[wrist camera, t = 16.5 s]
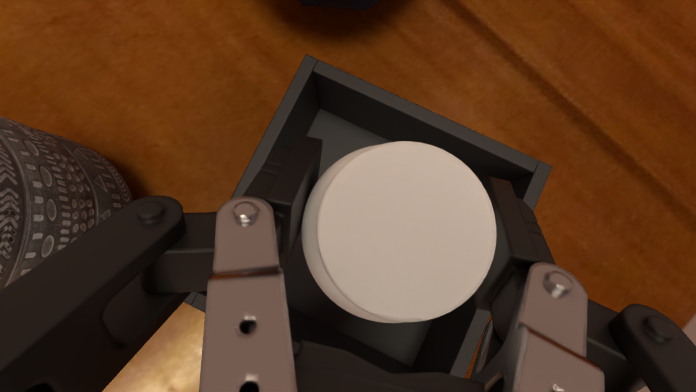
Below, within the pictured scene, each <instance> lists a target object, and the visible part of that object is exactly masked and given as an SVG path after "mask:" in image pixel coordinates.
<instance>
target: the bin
mask: <svg viewBox="0 0 696 392" xmlns="http://www.w3.org/2000/svg"><path fill="white" fill-rule="evenodd" d="M300 135H304V136H308V137H313V138H317V139H322V141H323V144H322V153H321V161H320V168H319V176H318V180H319V179H320V177H321V176H322V175H323V174H324V173H325V171H326V170H327V169H328V168H329V167H331V166H332V165H333V164H334V163H335V162H337V161H338V160H340V159H341V158H343V157H344V156H346V155H348V154H350V153H352V152H354V151H356V150H359V149H362V148H365V147H369V146H374V145H381V144H385V143H390V142H397V141H412V142H420V143H425V144H429V145H433V146H435V147H438V148H440V149H443V150H444V151H446V152H448V153H450V154H452V155H453V156H455V157H456V158H458V159H459V160H461V161H462V162H463V163H464V164H465V165H467V166H468V167H469V168H470V169H471V171H472V172H473V173H474V174H475V175H476V176H477V178H478V179H479V180H480V182H481V181H482V179H483V178H484V177H485V176H489V177H494V178H498V179H503V180H507V181H510V182H511V185H512V187H513V190H514V192H515V195H516V197H517V198H519V199H522V200H523V201H524V202H525V203H526V204H527V205H528V206H529V207H530V208H531V209H532V211H534V209H535V207H536V204H537V202H538V199H539V197H540V195H541V192H542V190H543V187H544V185H545V183H546V180H547V178H548V175H549V173H550V171H551V168H552V166H550V165H548V164H546V163H544V162H541V161H539V160H537V159H535V158H532V157H530V156H528V155H526V154H524V153H522V152H519V151H517V150H515V149H513V148H511V147H508V146H506V145H504V144H502V143H500V142H497V141H495V140H493V139H491V138H489V137H487V136H484V135H482V134H480V133H478V132H476V131H473V130H471V129H469V128H467V127H465V126H462V125H460V124H458V123H456V122H454V121H452V120H449V119H447V118H445V117H443V116H441V115H438V114H436V113H434V112H432V111H430V110H427V109H425V108H423V107H421V106H419V105H417V104H414V103H412V102H410V101H408V100H406V99H403V98H401V97H399V96H397V95H395V94H393V93H390V92H388V91H386V90H384V89H382V88H379V87H377V86H375V85H373V84H371V83H368V82H366V81H364V80H362V79H360V78H358V77H355V76H353V75H351V74H349V73H347V72H344V71H342V70H340V69H338V68H336V67H333V66H331V65H329V64H327V63H325V62H323V61H320V60H318V59H316V58H314V57H311V56H309V55H307V54H306V55H305V57H304V59H303V61H302V63H301V65H300V67H299V69H298V71H297V73H296V74H295V76H294V78H293V80H292V82H291V84H290V86H289V88H288V90H287V92H286V94H285V96H284V97H283V99H282V101H281V103H280V105H279V107H278V109H277V111H276V113H275V115H274V117H273V118H272V120H271V122H270V124H269V126H268V128H267V130H266V132H265V134H264V136H263V138H262V140H261V141H260V143H259V145H258V147H257V149H256V151H255V153H254V155H253V157H252V159H251V161H250V162H249V164H248V166H247V168H246V170H245V172H244V174H243V176H242V178H241V180H240V182H239V183H238V185H237V187H236V189H235V191H234V193H233V195H232V197H231V199H233V198H236V197H242V196H243V194H244V193H245V191H246V190H247V188H248V187H249V185H250V184H251V182H252V181H253V179H254V177H255V176H256V174H257V173H258V171H260V168H261V167H262V165H263V164H264V163H265V161H266V159H267V158H268V156H269V155H270V153H271V152H273V151H274V150H276V149H278V148H280V147H281V146H285V147H289V148H293V147H294V145H295V143H296V142H297V140H298V138H299V137H300ZM279 266H280V268H282V270H283V275H284V283H285V292H286V300H287V308H288V317H289V325H290V334H291V342H292V350H293V353H298V350H299V346H300V343H301V340H304V341H308V342H312V343H317V344H321V345H325V346H329V347H334V348H338V349H342V350H346V351H348V352H350V353H352V354H354V355H356V356H358V357H360V358H361V359H363V360H365V361H367V362H369V363H371V364H373V365H375V366H377V367H379V368H381V369H383V370H385V371H387V372H389V373H393V374H404V373H429V372H440V373H445V374H449V375H453V376H457V377H462V378H464V377H465V374H466V372H467V370H468V367H469V365H470V362H471V360H472V358H473V355H474V353H475V350H476V348H477V346H478V343H479V341H480V338H481V336H482V334H483V331H484V329H485V326H486V324H487V322H488V319H489V317H490V315H491V312H489V311H484V310H480V309H476V304H475V298H474V294H473V295H472V296H471V297H470V298H469V299H468V300H467V301H465V302H464V303H463V304H462V305H461V306H459V307H457V308H456V309H454V310H453V311H451V312H449V313H447V314H444V315H442V316H440V317H437V318H434V319H430V320H426V321H420V322H403V323H383V322H376V321H371V320H367V319H364V318H361V317H358V316H356V315H353V314H351V313H349V312H348V311H346V310H344V309H343V308H341V307H340V306H338V305H337V304H336V303H334V302H333V301H332V300H331V299H330V298H329V297H328V296H327V295H326V294H325V293H324V292H323V291H322V289H321V288H320V287H319V285H318V284H317V282H316V281H315V279H314V277H313V276H312V274H311V272H310V270H309V267H308V265H307V262H306V259H305V255H304V251H303V245H302V228H301V230H300V233H299V236H298V238H297V241H296V243H295V246H294V249H293V251H292V254H291V256H290V259H289V262H288V264H287V265H286V264H282V263H279ZM206 299H207V291H199V292H191V294H190V295H189V296H188V297H187V298H186V299H185V300H184V301H183V302H185V303H187V304H189V305H191V306H193V307H195V308H197V309H199V310H200V311H202V312H204V313H205V312H206Z"/></svg>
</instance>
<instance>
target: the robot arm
mask: <svg viewBox="0 0 696 392" xmlns="http://www.w3.org/2000/svg"><path fill="white" fill-rule="evenodd" d="M322 144H323V141H322V139H317V138H313V137H308V136H304V135H300V137H299V138H298V140H297V142H296V143H295V145H294V147H293V148H289V147H285V146H281V147H280V148H278V149H276V150H274V151H273V152H271V153H270V155H269V156H268V158H267V159H266V161H265V163H264V164H263V165H262V167H261V168H260V171H258V173H257V174H256V176H255V177H254V179H253V181H252V182H251V184H250V185H249V187H248V188H247V190H246V191H245V193H244V194H243V196H242V197H236V198H233V199H230V200H228V201H227V202H225V203H224V204H222V205H221V206H220V208H219V209H218V211H217V212H208V213H183V207H182V205H181V204H180V203H179V202H178V201H177V200H175V199H173V198H171V197H167V196H147V197H143V198H140V199H137V200H135V201H132V202H131V203H129V204H127V205H126V206H124V207H123V208H121V209H120V210H118V211H117V212H115V213H114V214H112V215H111V216H110V217H108V218H107V219H105V220H104V221H102V222H101V223H99V224H98V225H96V226H95V227H93V228H92V229H90V230H89V231H87V232H86V233H84V234H83V235H81V236H80V237H79V238H77V239H76V240H74V241H73V242H71V243H70V244H68V245H67V246H65V247H64V248H62V249H61V250H59V251H58V252H56V253H55V254H53V255H52V256H50V257H49V258H48V259H46V260H45V261H43V262H42V263H40V264H39V265H37V266H36V267H34V268H33V269H31V270H30V271H28V272H27V273H25V274H24V275H22V276H21V277H19V278H18V279H17V280H15V281H14V282H12V283H11V284H9V285H8V286H6V287H5V288H3V289H2V290H0V392H102V391H103V390H104V389H105V387H106V386H107V385H108V384H109V383H110V382H111V381H112V380H113V379H114V377H115V376H116V375H117V374H118V373H119V372H120V371H121V370H122V369H123V368H124V366H125V365H126V364H127V363H128V362H129V361H130V360H131V359H132V358H133V357H134V355H135V354H136V353H137V352H138V351H139V350H140V349H141V348H142V347H143V345H144V344H145V343H146V342H147V341H148V340H149V339H150V338H151V337H152V336H153V334H154V333H155V332H156V331H157V330H158V329H159V328H160V327H161V326H162V324H163V323H164V322H165V321H166V320H167V319H168V318H169V317H170V316H171V315H172V313H173V312H174V311H175V310H176V309H177V308H178V307H179V306H180V305H181V303H182V302H183V301H184V300H185V299H186V298H187V297H188V296H189V295H190V294H191V292H199V291H207V299H206V312H205V324H204V336H203V349H202V361H201V373H200V386H199V392H637V391H638V390H640V389H642V388H643V387H645V386H647V387H648V388H649V390H650V391H651V392H696V346H695V345H694V344H693V342H692V341H691V340H690V339H689V338H688V337H687V335H686V334H685V333H684V332H683V331H682V330H681V329H680V328H679V327H678V326H677V325H676V324H675V323H674V322H673V321H672V320H670V319H669V318H668V317H666V316H665V315H663V314H662V313H660V312H658V311H657V310H655V309H652V308H650V307H648V306H644V305H641V304H631V305H628V306H627V307H625V308H624V309H623V310H622V311H621V312H620V313H617V312H615V311H613V310H611V309H609V308H607V307H605V306H602V305H600V304H598V303H596V302H594V301H592V300H590V299H588V298H587V293H586V291H585V289H584V287H583V286H582V284H581V283H580V282H579V281H578V279H576V278H575V277H574V276H573V275H572V274H571V273H569V272H568V271H566V270H565V269H563V268H561V267H559V266H557V265H556V264H555V262H554V260H553V257H552V255H551V253H550V250H549V248H548V246H547V243H546V241H545V238H544V236H543V234H541V232H542V231H541V229H540V227H539V225H538V224H537V220H536V217H535V215H534V213H533V211H532V209H531V208H530V207H529V206H528V205H527V204H526V203H525V202H524V201H523V200H522V199H519V198H517V197H516V195H515V192H514V190H513V187H512V185H511V182H510V181H507V180H503V179H498V178H494V177H489V176H485V177H484V178H483V179H482V181H481V183H482V185H483V187H484V189H485V190H486V192H487V194H488V196H489V199H490V201H491V204H492V207H493V211H494V214H495V221H496V247H495V252H494V257H493V260H492V263H491V266H490V269H489V270H488V273H487V275H486V277H485V278H484V280H483V282H482V284H481V285H480V286H479V288H478V289H477V290H476V292H475V293H474V298H475V304H476V309H480V310H484V311H489V312H491V316H492V319H491V320H490V322H489V323H488V324H487V326H486V328H485V332H484V335H483V338H482V341H481V345H480V348H479V351H478V354H477V358H476V361H475V364H474V367H473V371H472V374H471V377H470V379H466V378H462V377H457V376H453V375H449V374H445V373H440V372H429V373H404V374H393V373H389V372H387V371H385V370H383V369H381V368H379V367H377V366H375V365H373V364H371V363H369V362H367V361H365V360H363V359H361V358H360V357H358V356H356V355H354V354H352V353H350V352H348V351H346V350H342V349H338V348H334V347H329V346H325V345H321V344H317V343H312V342H308V341H304V340H301V343H300V346H299V350H298V353H293V350H292V342H291V334H290V325H289V317H288V308H287V300H286V292H285V283H284V275H283V270H282V268H280V266H279V263H282V264H286V265H287V264H288V262H289V259H290V256H291V254H292V251H293V249H294V246H295V243H296V241H297V238H298V236H299V233H300V230H301V228H302V219H303V214H304V210H305V206H306V203H307V200H308V198H309V196H310V193H311V191H312V189H313V188H314V186H315V184H316V183H317V181H318V176H319V168H320V161H321V153H322Z"/></svg>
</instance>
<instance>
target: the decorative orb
mask: <svg viewBox="0 0 696 392" xmlns="http://www.w3.org/2000/svg"><path fill="white" fill-rule="evenodd" d="M298 1H299V2H300V3H301V4H302V5H303V6H317V7H330V8H343V9H357V10H368V9H369V8H370V7H372V6H373V5H375V4H376V3H378V2H379V1H380V0H298Z"/></svg>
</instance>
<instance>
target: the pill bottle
mask: <svg viewBox="0 0 696 392" xmlns="http://www.w3.org/2000/svg"><path fill="white" fill-rule="evenodd" d="M302 245H303V251H304V255H305V259H306V262H307V265H308V267H309V270H310V272H311V274H312V276H313V277H314V279H315V281H316V282H317V284H318V285H319V287H320V288H321V289H322V291H323V292H324V293H325V294H326V295H327V296H328V297H329V298H330V299H331V300H332V301H333V302H334V303H336V304H337V305H338V306H340V307H341V308H343V309H344V310H346V311H348V312H349V313H351V314H353V315H356V316H358V317H361V318H364V319H367V320H371V321H376V322H383V323H403V322H420V321H426V320H430V319H434V318H437V317H440V316H442V315H444V314H447V313H449V312H451V311H453V310H454V309H456V308H457V307H459V306H461V305H462V304H463V303H464V302H465V301H467V300H468V299H469V298H470V297H471V296H472V295H473V294H474V293H475V292H476V290H477V289H478V288H479V286H480V285H481V284H482V282H483V280H484V278H485V277H486V275H487V273H488V270H489V269H490V266H491V263H492V260H493V257H494V252H495V247H496V221H495V214H494V211H493V207H492V204H491V201H490V199H489V196H488V194H487V192H486V190H485V189H484V187H483V185H482V183H481V182H480V180H479V179H478V178H477V176H476V175H475V174H474V173H473V172H472V171H471V169H470V168H469V167H468V166H467V165H465V164H464V163H463V162H462V161H461V160H459V159H458V158H456V157H455V156H453V155H452V154H450V153H448V152H446V151H444V150H443V149H440V148H438V147H435V146H433V145H429V144H425V143H420V142H412V141H397V142H390V143H385V144H381V145H374V146H369V147H365V148H362V149H359V150H356V151H354V152H352V153H350V154H348V155H346V156H344V157H343V158H341V159H340V160H338V161H337V162H335V163H334V164H333V165H332V166H331V167H329V168H328V169H327V170H326V171H325V173H324V174H323V175H322V176H321V177H320V179H319V180H318V181H317V183H316V184H315V186H314V188H313V189H312V191H311V193H310V196H309V198H308V200H307V203H306V206H305V210H304V214H303V219H302Z"/></svg>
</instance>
